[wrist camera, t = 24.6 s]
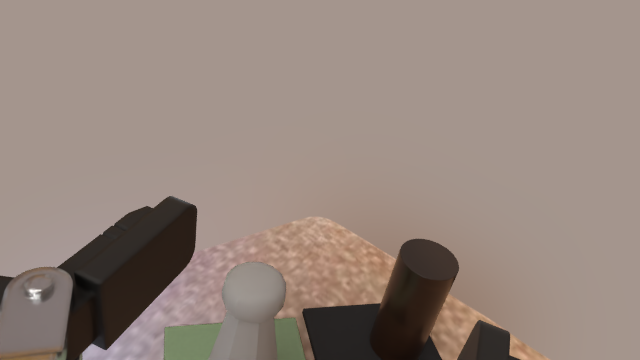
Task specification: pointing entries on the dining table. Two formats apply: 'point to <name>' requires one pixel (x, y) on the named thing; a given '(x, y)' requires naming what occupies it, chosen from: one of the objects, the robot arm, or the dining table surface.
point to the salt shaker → (250, 313)
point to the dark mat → (348, 333)
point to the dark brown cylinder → (413, 299)
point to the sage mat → (198, 340)
